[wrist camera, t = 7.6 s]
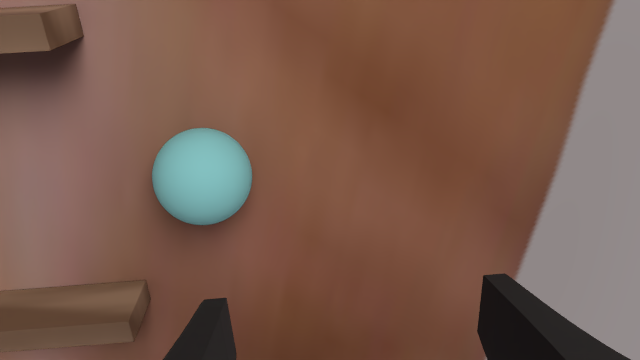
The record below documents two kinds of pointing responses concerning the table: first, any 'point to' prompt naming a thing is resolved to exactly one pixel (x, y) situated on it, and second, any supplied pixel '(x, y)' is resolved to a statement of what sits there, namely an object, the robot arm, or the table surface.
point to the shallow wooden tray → (68, 301)
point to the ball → (202, 176)
